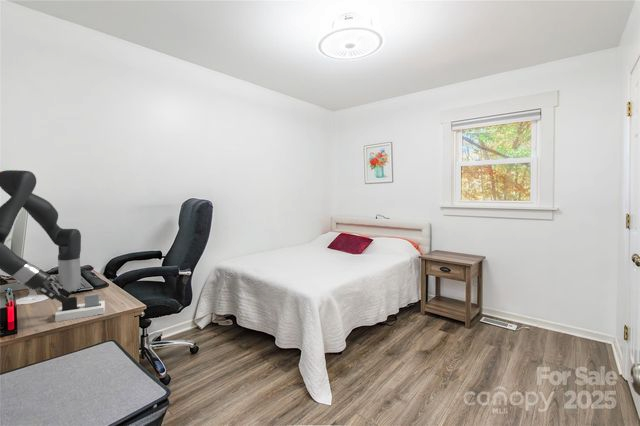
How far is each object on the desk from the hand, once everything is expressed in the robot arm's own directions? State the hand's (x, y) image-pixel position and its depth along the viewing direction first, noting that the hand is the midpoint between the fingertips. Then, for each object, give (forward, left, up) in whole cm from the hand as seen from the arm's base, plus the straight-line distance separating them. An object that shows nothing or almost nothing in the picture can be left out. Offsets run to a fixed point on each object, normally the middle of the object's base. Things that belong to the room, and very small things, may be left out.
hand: (68, 298), depth 137 cm
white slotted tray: (0, +5, -8) cm, 9 cm away
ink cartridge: (0, 0, -8) cm, 8 cm away
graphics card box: (-57, -7, -8) cm, 58 cm away
